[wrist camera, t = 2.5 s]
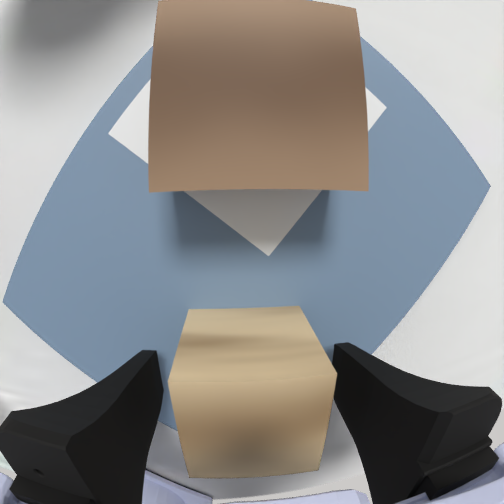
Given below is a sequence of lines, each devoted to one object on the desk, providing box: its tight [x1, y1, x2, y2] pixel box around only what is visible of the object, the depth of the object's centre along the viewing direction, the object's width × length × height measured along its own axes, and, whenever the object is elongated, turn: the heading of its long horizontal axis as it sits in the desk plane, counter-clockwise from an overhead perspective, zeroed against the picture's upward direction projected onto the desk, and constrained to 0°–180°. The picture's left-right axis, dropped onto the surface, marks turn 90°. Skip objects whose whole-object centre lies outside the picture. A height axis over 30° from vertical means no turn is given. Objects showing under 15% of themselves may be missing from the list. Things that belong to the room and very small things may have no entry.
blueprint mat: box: [3, 0, 491, 431], centre depth 12 cm, size 20×16×1 cm
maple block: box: [168, 306, 337, 478], centre depth 10 cm, size 4×4×5 cm
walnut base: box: [148, 0, 369, 193], centre depth 9 cm, size 6×6×4 cm
